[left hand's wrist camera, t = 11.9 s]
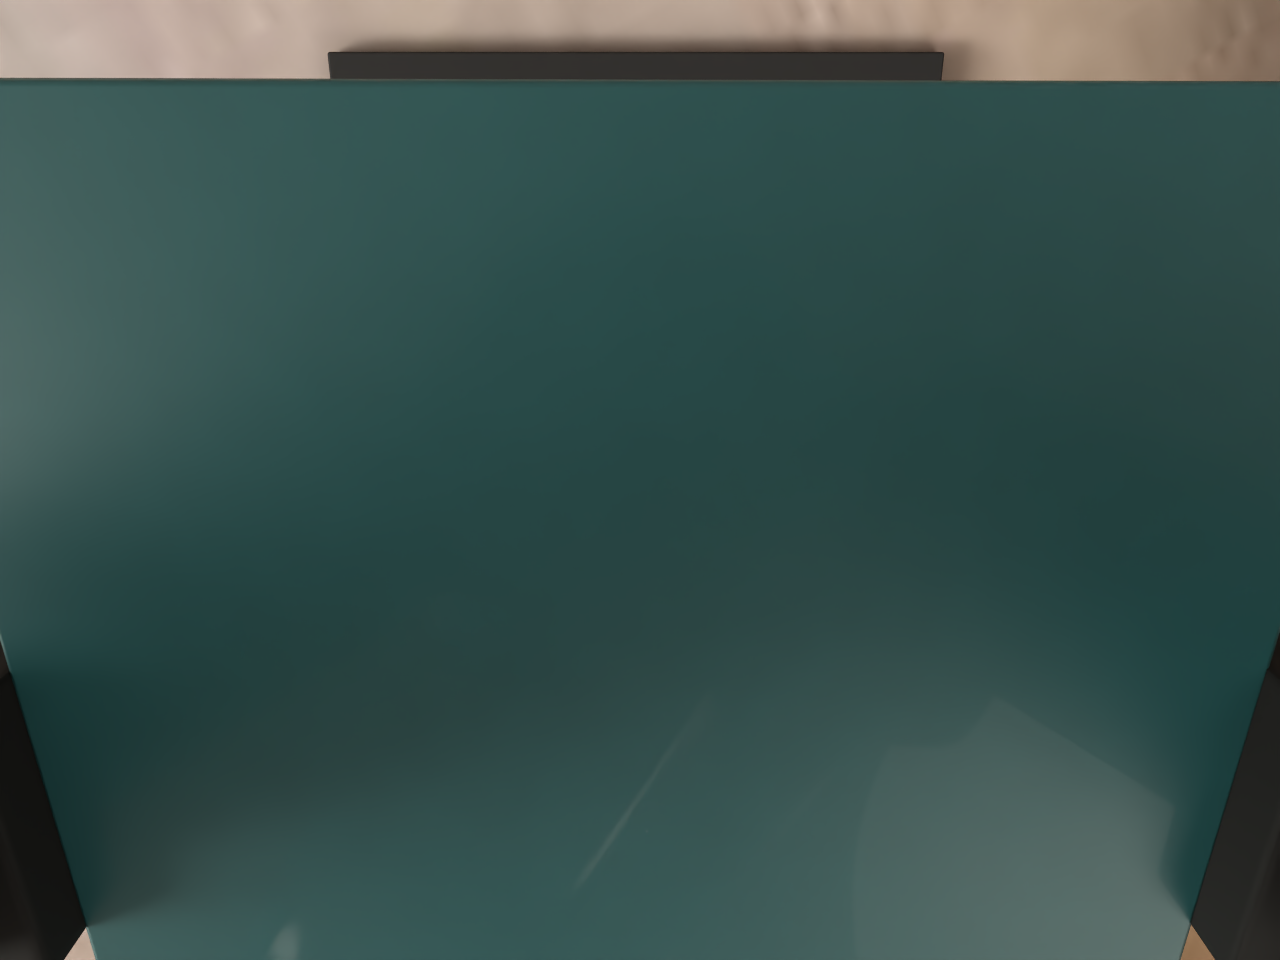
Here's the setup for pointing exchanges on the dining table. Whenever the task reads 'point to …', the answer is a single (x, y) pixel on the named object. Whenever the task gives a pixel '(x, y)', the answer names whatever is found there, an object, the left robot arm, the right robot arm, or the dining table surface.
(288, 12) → the dining table surface
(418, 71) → the rubber mat
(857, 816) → the teal flat block
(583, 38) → the dining table surface
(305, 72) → the dining table surface
